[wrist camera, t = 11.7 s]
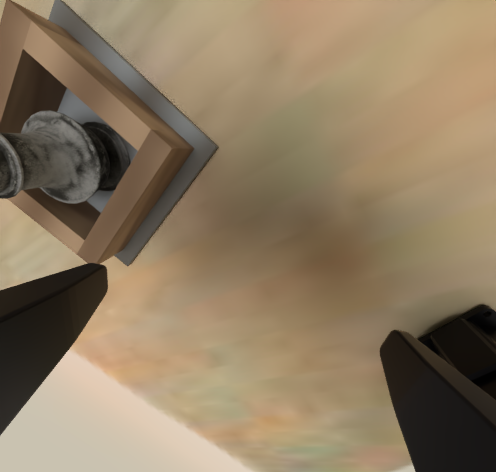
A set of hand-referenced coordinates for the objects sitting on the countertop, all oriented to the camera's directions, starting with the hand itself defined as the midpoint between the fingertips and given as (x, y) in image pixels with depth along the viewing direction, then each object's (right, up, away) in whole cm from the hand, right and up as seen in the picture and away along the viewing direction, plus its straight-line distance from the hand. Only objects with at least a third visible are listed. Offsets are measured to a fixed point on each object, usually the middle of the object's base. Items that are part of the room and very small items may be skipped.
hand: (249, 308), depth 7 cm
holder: (-12, +9, +12) cm, 19 cm away
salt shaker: (-12, +9, +12) cm, 19 cm away
